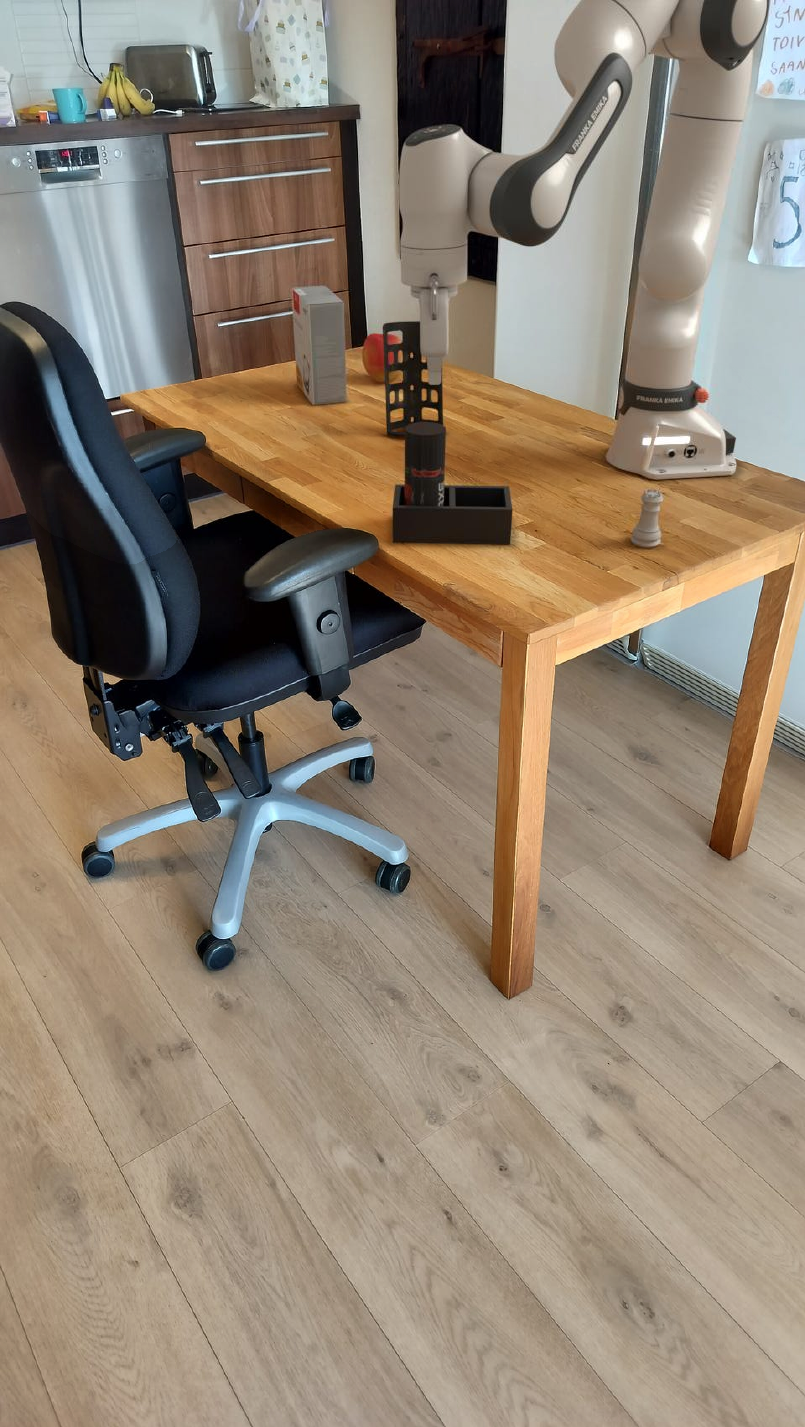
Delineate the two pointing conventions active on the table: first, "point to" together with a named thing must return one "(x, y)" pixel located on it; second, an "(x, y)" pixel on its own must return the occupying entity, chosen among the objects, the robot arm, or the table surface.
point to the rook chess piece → (648, 521)
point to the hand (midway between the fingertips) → (434, 374)
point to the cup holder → (456, 517)
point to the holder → (408, 378)
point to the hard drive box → (319, 344)
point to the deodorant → (425, 464)
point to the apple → (379, 356)
